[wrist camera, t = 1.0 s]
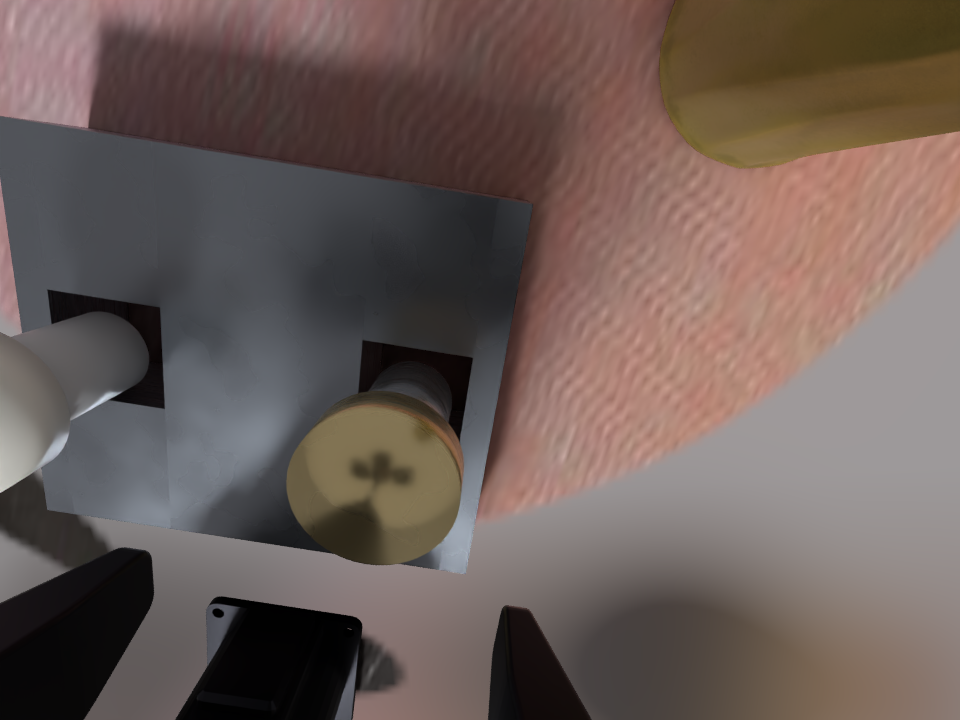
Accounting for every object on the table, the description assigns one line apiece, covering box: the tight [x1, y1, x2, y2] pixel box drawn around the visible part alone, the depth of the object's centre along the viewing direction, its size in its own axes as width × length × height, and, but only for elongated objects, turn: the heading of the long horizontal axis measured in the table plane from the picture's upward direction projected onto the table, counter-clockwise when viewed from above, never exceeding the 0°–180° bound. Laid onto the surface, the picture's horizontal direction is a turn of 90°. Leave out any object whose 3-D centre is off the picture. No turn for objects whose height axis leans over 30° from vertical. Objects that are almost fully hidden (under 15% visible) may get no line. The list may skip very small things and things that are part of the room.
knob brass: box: [286, 361, 464, 565], centre depth 13 cm, size 4×4×5 cm
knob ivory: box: [0, 311, 149, 493], centre depth 13 cm, size 4×4×5 cm
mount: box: [0, 116, 533, 574], centre depth 17 cm, size 12×14×3 cm
